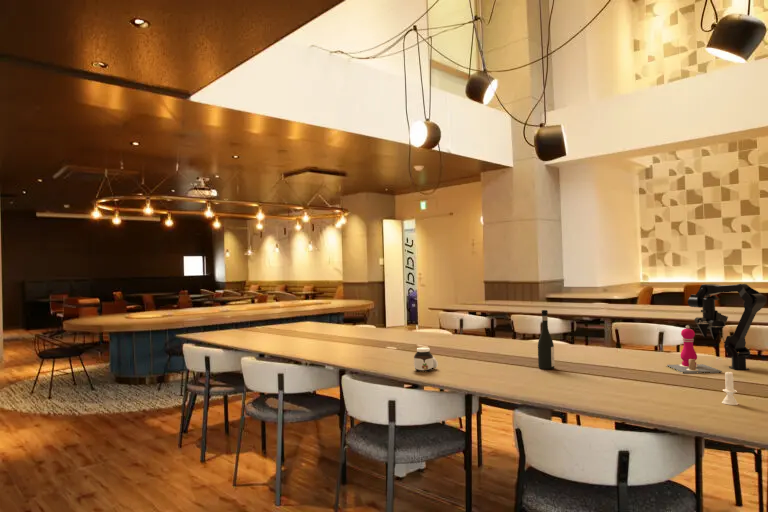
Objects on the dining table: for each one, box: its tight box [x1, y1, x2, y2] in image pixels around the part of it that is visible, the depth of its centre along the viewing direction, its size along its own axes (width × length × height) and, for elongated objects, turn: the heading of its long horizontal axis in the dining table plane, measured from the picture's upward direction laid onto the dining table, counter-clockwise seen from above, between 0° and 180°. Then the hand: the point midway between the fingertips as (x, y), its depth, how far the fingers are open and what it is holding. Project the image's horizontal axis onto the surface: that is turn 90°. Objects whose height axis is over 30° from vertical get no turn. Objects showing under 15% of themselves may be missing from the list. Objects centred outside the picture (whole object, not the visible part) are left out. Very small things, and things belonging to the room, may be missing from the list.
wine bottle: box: [537, 309, 555, 370], centre depth 275 cm, size 8×8×30 cm
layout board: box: [666, 359, 723, 374], centre depth 261 cm, size 17×18×6 cm
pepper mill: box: [680, 324, 698, 367], centre depth 266 cm, size 7×7×20 cm
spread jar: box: [413, 346, 439, 372], centre depth 279 cm, size 12×11×12 cm
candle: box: [721, 371, 739, 406], centre depth 200 cm, size 5×5×12 cm
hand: (710, 338), depth 275 cm, fingers open, 9 cm apart
